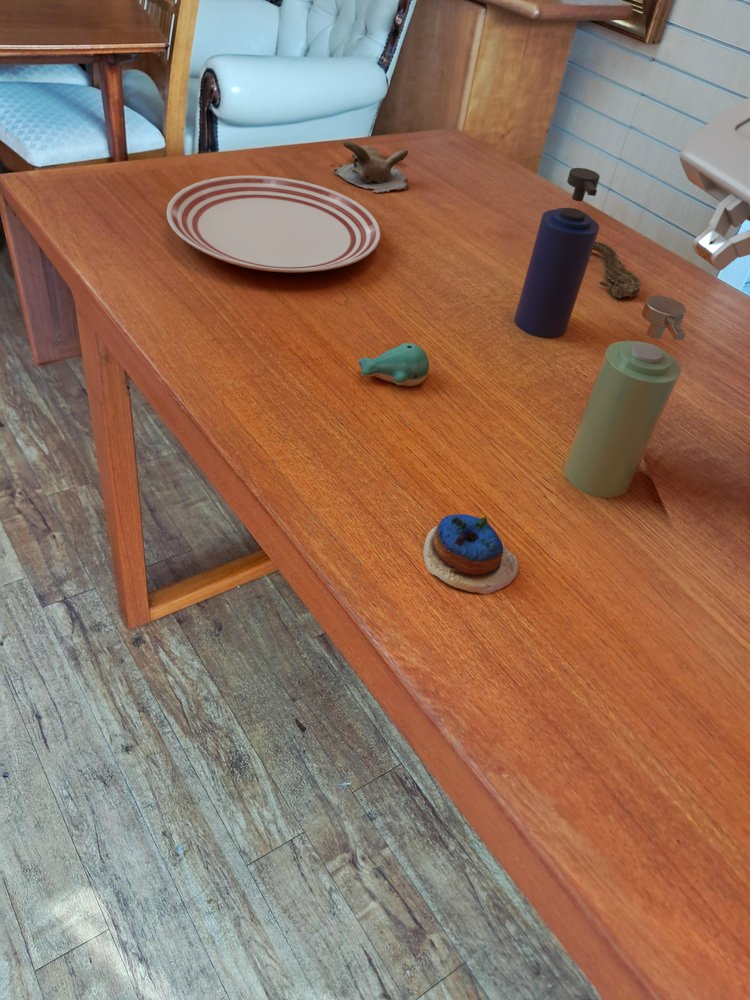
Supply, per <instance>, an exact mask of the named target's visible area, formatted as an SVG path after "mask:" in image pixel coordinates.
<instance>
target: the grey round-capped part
mask: <svg viewBox="0 0 750 1000" xmlns="http://www.w3.org/2000/svg"><path fill="white" fill-rule="evenodd" d="M686 312H687V309H686V306H685V305H684V304H683V303H681V302H680V301H679V300H676V299H674V298H673V297H672V298H671V297H668V296H664V295H651V296H649V297H647V298H646V300H645V303H644V305H643V308H642V310H641V316H642V318H643V319H644V320H645V321H646V322H648V323H649V325H648V326H649V327H648V329H647V331H646V335H647V337H649V338H651V339H654V340H660V339H661V338H662V336H663V334H664V332H665V329H667V331H668V332H669V334H670V336H671V337H672V339H673V340H675V341H676V340H677V341H684V340H685V338H686V336H687V335H686V332H685V330H684V329H683V326H682V325H681V324H682V322H683V320H684V318H685V315H686Z"/></svg>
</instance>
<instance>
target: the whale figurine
mask: <svg viewBox="0 0 750 1000" xmlns="http://www.w3.org/2000/svg"><path fill="white" fill-rule="evenodd" d="M357 364H358V366H359V367H360V369H361V371H360V374H361V376H362V377H364V378H371V377H376V378H378V379H380V380H382V381H385V382H388V383H392V384H395V385H397V386H404V387H414V386H418V385H420V384H421V383H423V382H424V381H425V380H426V379H427V376H428V373H429V369H430V361H429V357H428V355H427V353H426V352H425V350H424V349H423V348H422V347H420V346H419V345H417V344H415V343H412V342H405V343H402V344H401V343H400V344H399V345H398V346H397V345H396V346H395V347H393V348H390V349H388V350H386V351H384V352H382V353H381V354H380V355H378V356H376V357H375V358H371V357H362V358H360V359H358V362H357Z"/></svg>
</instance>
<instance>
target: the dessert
mask: <svg viewBox="0 0 750 1000" xmlns="http://www.w3.org/2000/svg"><path fill="white" fill-rule="evenodd" d="M511 548H512V546H509V549H511ZM422 556H423V560H424V561H423V562H424V565H425V567H426V570H427V571H428V572H429V574H431V575H433V576H436V577H437V578H438V579H440V580H441V581H443V582H444V583H446V584H448V585H449V586H451V587H454V588H456V589H460V590H463V591H466V592H470V593H477V594H481V595H490V594H492V593H495V592H497V591H499V590H502V589H503V588H505V587H507V586H509V584H511V582H513V580H514V579H515V578H516V576H517V573H518V571H519V561H518V558H517V556H516V555H515V554H514V553H512V552H510V551H509V550H508V548H507V547H506V546H505V544H504V542H503V540H502V539H501V538H500V536H499V535H498V532H496V531H495V529H494V528H493V527H492V526H491V525H490V523H489V522H488V519H487V517H484V516H483V517H481V518H480V517H477V516H474V515H469V514H467V513H459V514H455V513H453V514H449V515H446V516H444V517H441V518H440V521H439V524H435V526H434V527H433V528H431V530H429V532H428V534H427V536H426V537H425V541H424V543H423V549H422Z"/></svg>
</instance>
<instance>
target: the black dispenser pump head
mask: <svg viewBox="0 0 750 1000" xmlns="http://www.w3.org/2000/svg"><path fill="white" fill-rule="evenodd" d="M600 178H601V176H600V174H599V173H598V172H596V171H594V170H591V169H589V168H584V167H573V168H571V169H570V170H569V173H568V177H567V180H566V182H567V184H568V185H569V186H570V187H572V188H574V190H573V192H572V197H571V199H572V200H573V201H576V202H583V201H584V198H585V195H586V194H587V195H588V196H593V197H596V195H597V192H598V190H597V188H598V184H599V181H600Z"/></svg>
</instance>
